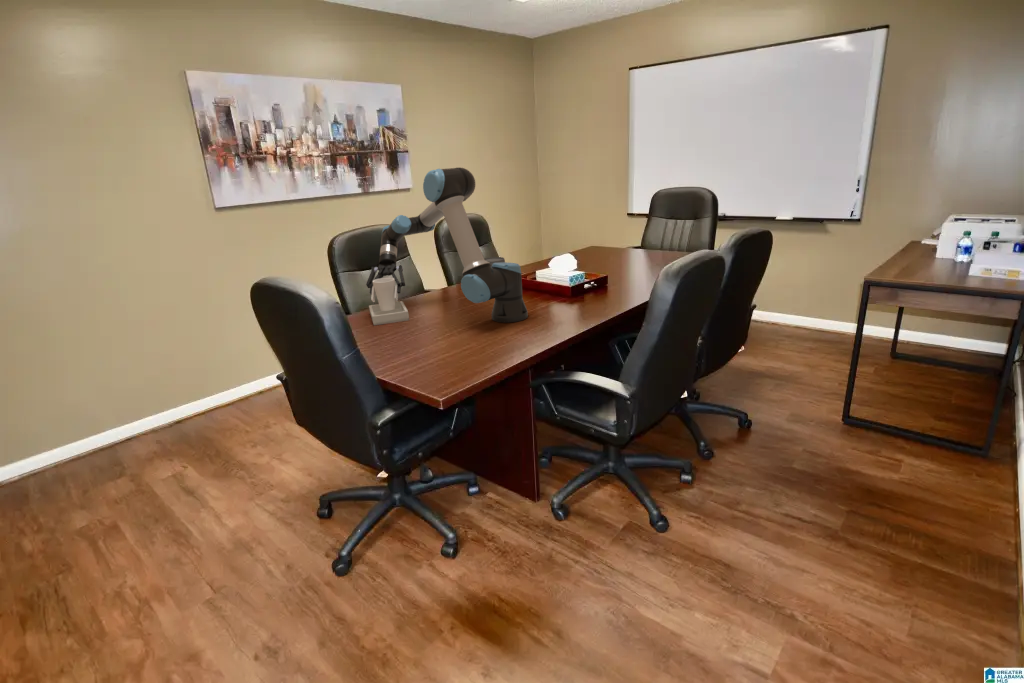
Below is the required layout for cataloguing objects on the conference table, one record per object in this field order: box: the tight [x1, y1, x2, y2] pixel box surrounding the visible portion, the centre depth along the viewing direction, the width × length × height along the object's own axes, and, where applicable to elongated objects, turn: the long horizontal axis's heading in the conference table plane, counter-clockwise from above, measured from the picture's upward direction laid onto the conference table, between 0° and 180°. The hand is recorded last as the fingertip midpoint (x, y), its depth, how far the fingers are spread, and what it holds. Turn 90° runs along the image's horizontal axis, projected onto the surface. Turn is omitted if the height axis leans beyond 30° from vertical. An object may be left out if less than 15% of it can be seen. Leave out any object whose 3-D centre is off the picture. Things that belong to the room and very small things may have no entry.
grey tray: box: [368, 300, 410, 326], centre depth 234 cm, size 20×15×4 cm
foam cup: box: [373, 277, 396, 311], centre depth 231 cm, size 10×9×13 cm
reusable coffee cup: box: [483, 256, 506, 267], centre depth 271 cm, size 13×13×15 cm
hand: (384, 300), depth 229 cm, fingers closed on foam cup, 9 cm apart
